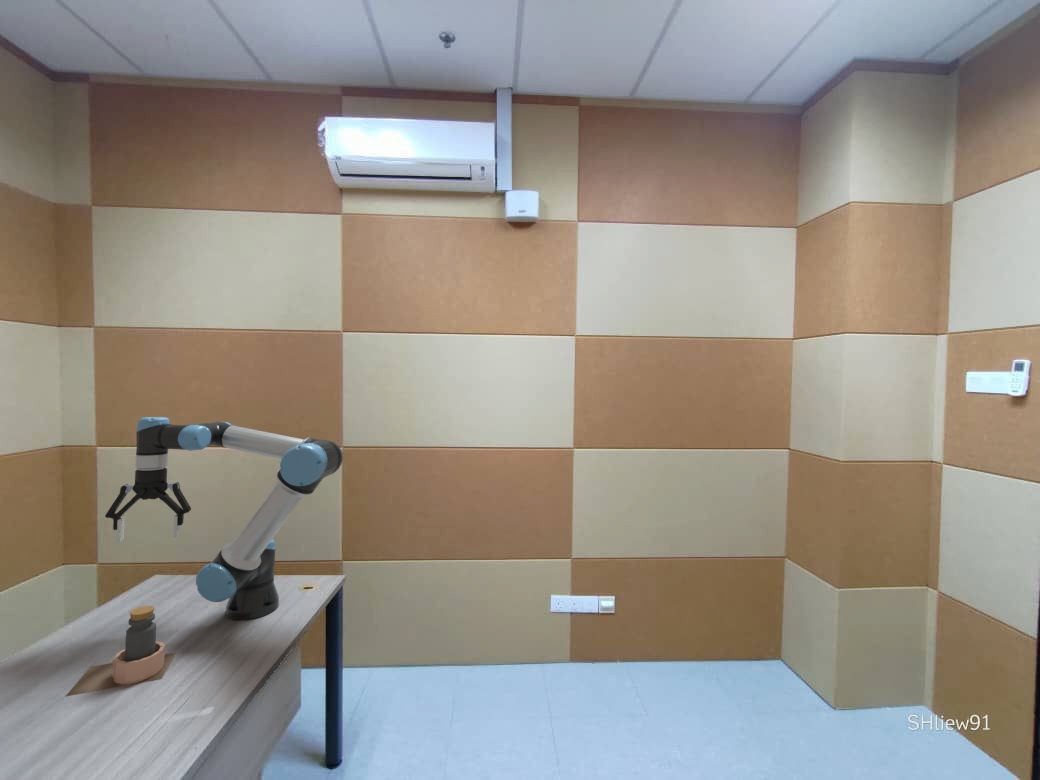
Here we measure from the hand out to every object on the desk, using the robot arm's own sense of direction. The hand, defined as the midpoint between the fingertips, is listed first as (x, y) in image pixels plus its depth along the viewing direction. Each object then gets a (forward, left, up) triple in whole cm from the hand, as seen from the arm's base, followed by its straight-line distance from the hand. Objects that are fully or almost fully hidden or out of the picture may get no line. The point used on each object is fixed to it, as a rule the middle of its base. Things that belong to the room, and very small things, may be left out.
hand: (148, 538), depth 136 cm
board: (-4, +27, -27) cm, 38 cm away
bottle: (-7, +28, -25) cm, 38 cm away
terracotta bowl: (-7, +28, -26) cm, 39 cm away
